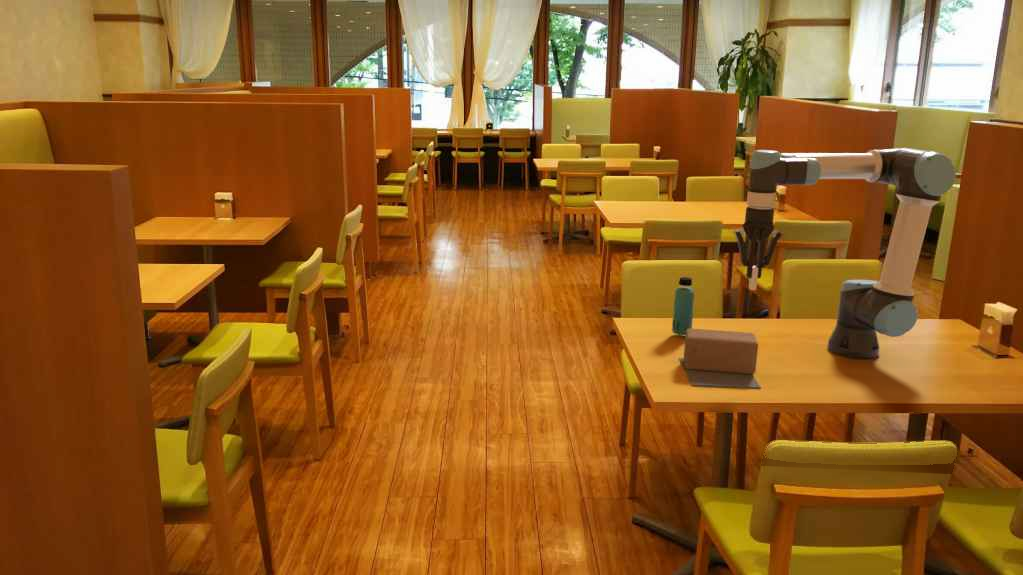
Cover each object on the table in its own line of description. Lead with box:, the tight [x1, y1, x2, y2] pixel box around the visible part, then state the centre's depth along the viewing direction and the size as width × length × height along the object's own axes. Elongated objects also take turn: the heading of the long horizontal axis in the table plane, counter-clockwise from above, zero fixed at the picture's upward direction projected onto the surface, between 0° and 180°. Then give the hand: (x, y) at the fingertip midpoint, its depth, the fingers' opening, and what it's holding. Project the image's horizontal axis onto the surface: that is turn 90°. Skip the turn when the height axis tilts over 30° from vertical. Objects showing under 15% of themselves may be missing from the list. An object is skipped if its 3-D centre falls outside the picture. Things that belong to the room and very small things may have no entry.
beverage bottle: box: [671, 276, 696, 336], centre depth 267 cm, size 6×7×20 cm
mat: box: [678, 357, 762, 390], centre depth 238 cm, size 19×22×1 cm
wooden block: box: [683, 327, 759, 375], centre depth 240 cm, size 10×10×20 cm
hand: (752, 288), depth 233 cm, fingers closed
